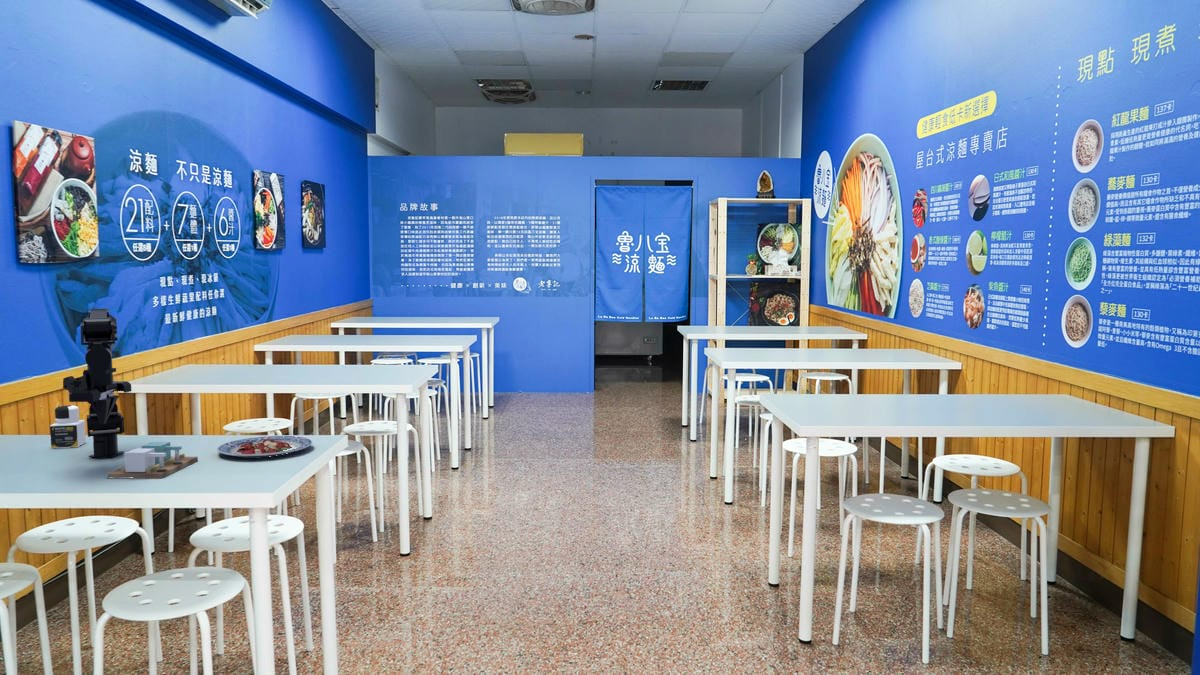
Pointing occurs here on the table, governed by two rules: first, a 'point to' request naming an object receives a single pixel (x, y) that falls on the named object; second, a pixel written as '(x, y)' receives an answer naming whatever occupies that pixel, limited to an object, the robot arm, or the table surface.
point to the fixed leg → (142, 459)
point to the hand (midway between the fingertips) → (102, 423)
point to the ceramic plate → (263, 446)
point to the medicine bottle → (67, 428)
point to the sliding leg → (163, 450)
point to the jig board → (157, 468)
